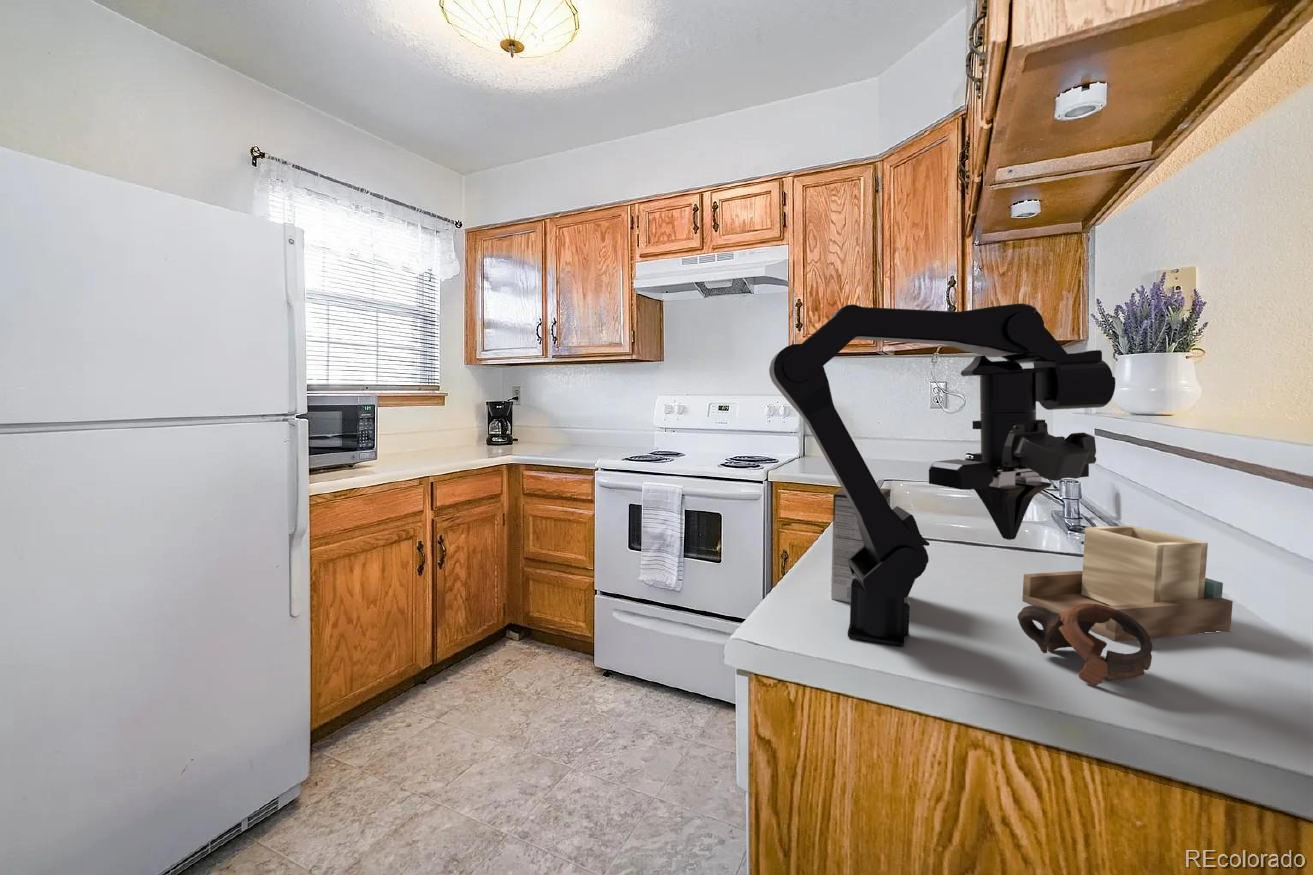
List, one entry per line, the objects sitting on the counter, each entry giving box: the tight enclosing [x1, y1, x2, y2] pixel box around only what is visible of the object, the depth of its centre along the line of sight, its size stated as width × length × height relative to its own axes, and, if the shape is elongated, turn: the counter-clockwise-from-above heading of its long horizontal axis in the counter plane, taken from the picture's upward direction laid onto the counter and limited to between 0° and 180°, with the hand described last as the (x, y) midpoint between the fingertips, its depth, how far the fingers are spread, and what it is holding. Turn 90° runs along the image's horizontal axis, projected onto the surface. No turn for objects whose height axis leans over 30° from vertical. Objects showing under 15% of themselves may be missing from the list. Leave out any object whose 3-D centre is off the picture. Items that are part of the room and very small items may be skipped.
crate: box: [1081, 525, 1209, 606], centre depth 78 cm, size 8×10×10 cm
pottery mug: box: [1017, 603, 1153, 687], centre depth 63 cm, size 12×10×8 cm
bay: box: [1022, 570, 1234, 642], centre depth 78 cm, size 18×14×6 cm
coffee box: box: [830, 487, 891, 603], centre depth 85 cm, size 9×6×16 cm
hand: (1008, 538), depth 69 cm, fingers closed
